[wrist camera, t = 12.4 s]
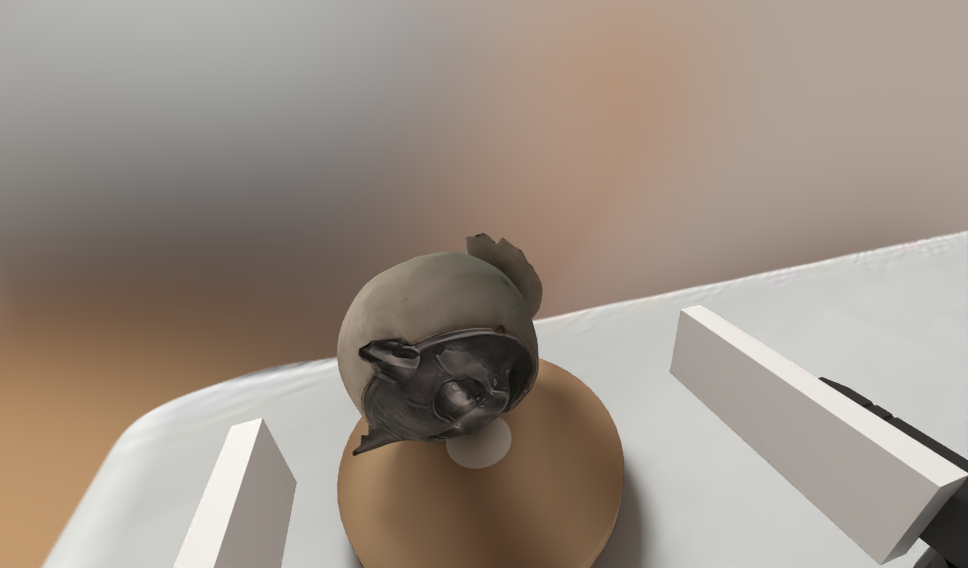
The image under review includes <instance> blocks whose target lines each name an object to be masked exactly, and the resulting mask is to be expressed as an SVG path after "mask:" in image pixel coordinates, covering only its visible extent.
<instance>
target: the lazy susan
mask: <svg viewBox="0 0 968 568" xmlns="http://www.w3.org/2000/svg"><path fill="white" fill-rule="evenodd" d="M368 427H369V426H368V424H367V422H366V421H365V419H364V418H363V416H362V417H361V419H360V420H359V421H358V423H357V425H356V426H355V428H354V430H353V432H352V433H351V435H350V437H349V440H348V442H347V445H346V447H345V449H344V452H343V456H342V459H341V463H340V467H339V475H338V482H337V492H338V505H339V511H340V516H341V520H342V523H343V526H344V529H345V531H346V534H347V537H348V539H349V541H350V543H351V545H352V547H353V549H354V551H355V553H356V555H357V556H358V558H359V560H360V562H361V563H362V565H363V567H364V568H590V567H591V566H592V565H593V564H594V562H595V561H596V559H597V558H598V556H599V555H600V553H601V552H602V551H603V549H604V548H605V546H606V543H607V541H608V539H609V537H610V535H611V533H612V531H613V529H614V526H615V523H616V519H617V516H618V513H619V509H620V502H621V495H622V487H623V480H624V457H623V451H622V446H621V441H620V438H619V435H618V432H617V429H616V426H615V424H614V422H613V420H612V418H611V416H610V414H609V412H608V411H607V409H606V408H605V406H604V405H603V403H602V402H601V400H600V399H599V398H598V397H597V396H596V395H595V393H594V392H593V391H592V390H591V389H590V388H589V387H588V386H586V385H585V384H584V383H583V382H582V381H581V380H580V379H578V378H577V377H575V376H574V375H572V374H571V373H569V372H568V371H566V370H564V369H562V368H561V367H559V366H557V365H555V364H552V363H550V362H548V361H545V360H543V359H539V370H538V374H537V378H536V380H535V383H534V385H533V387H532V389H531V390H530V392H529V393H528V394H527V395H526V396H525V397H524V399H523V400H522V401H521V402H520V403H519V404H518V405H517V406H516V407H515V408H514V409H512V410H511V411H510V412H508V413H502V414H500V415H499V416H498V417H497V418H496V419H494V420H492V421H491V422H490V423H489V424H488V425H486V426H485V427H484V428H483V429H482V430H481V431H479V432H478V433H477V434H472V435H461V436H458V437H454V438H452V439H449V440H444V441H440V442H423V441H411V440H406V441H399V442H395V443H391V444H387V445H385V446H382V447H379V448H376V449H374V450H371V451H367V452H364V453H361V454H358V455H356V456H353V455H352V452H353V451H354V450H355V449H356V448H357V447H359V446H360V445H361V435H368Z"/></svg>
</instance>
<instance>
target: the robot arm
mask: <svg viewBox="0 0 968 568" xmlns="http://www.w3.org/2000/svg"><path fill="white" fill-rule="evenodd" d="M670 373H671V374H672V375H673V376H674V377H675V378H676V379H678V380H679V381H680V382H681V383H682V384H683V385H684V386H685V387H686V388H687V389H688V390H689V391H691V392H692V393H693V394H694V395H695V396H696V397H697V398H698V399H699V400H700V401H701V402H703V403H704V404H705V405H706V406H707V407H708V408H709V409H710V410H711V411H712V412H713V413H715V414H716V415H717V416H718V417H719V418H720V419H721V420H722V421H723V422H724V423H725V424H727V425H728V426H729V427H730V428H731V429H732V430H733V431H734V432H735V433H736V434H737V435H739V436H740V437H741V438H742V439H743V440H744V441H745V442H746V443H747V444H748V445H749V446H750V447H752V448H753V449H754V450H755V451H756V452H757V453H758V454H759V455H760V456H761V457H762V458H764V459H765V460H766V461H767V462H768V463H769V464H770V465H771V466H772V467H773V468H774V469H776V470H777V471H778V472H779V473H780V474H781V475H782V476H783V477H784V478H785V479H786V480H788V481H789V482H790V483H791V484H792V485H793V486H794V487H795V488H796V489H797V490H798V491H799V492H801V493H802V494H803V495H804V496H805V497H806V498H807V499H808V500H809V501H810V502H811V503H813V504H814V505H815V506H816V507H817V508H818V509H819V510H820V511H821V512H822V513H823V514H825V515H826V516H827V517H828V518H829V519H830V520H831V521H832V522H833V523H834V524H835V525H837V526H838V527H839V528H840V529H841V530H842V531H843V532H844V533H845V534H846V535H847V536H849V537H850V538H851V539H852V540H853V541H854V542H855V543H856V544H857V545H858V546H859V547H860V548H862V549H863V550H864V551H865V552H866V553H867V554H868V555H869V556H870V557H871V558H872V559H874V560H875V561H876V562H877V563H878V564H879V565H882V564H884V563H887V562H889V561H891V560H893V559H895V558H897V557H899V556H902V555H904V554H906V553H907V552H908V550H909V549H910V548H911V547H912V545H913V544H914V543H915V542H916V540H917V539H918V538H921V539H922V540H923V541H924V542H926V543H927V544H928V545H929V546H930V547H929V548H928V549H927V550H926V552H925V553H924V554H923V555H922V556H921V557H920V559H919V560H918V561H917V562H916V563H915V565H914V567H913V568H968V460H967V459H965V458H963V457H962V456H960V455H958V454H957V453H955V452H953V451H952V450H950V449H949V448H947V447H945V446H944V445H942V444H940V443H939V442H937V441H935V440H934V439H932V438H930V437H929V436H927V435H926V434H924V433H922V432H921V431H919V430H917V429H916V428H914V427H912V426H911V425H909V424H907V423H906V422H904V421H903V420H901V419H899V418H898V417H897V418H894V417H893V416H892V414H891V413H889V412H888V411H886V410H884V409H883V408H881V407H880V406H878V405H876V406H875V405H873V403H872V402H871V401H870V400H868V399H866V398H865V397H863V396H861V395H860V394H858V393H857V392H855V391H853V390H852V389H850V388H848V387H846V386H843V385H841V384H838V383H836V382H833V381H831V380H828V379H826V378H823V377H821V378H816V377H814V376H813V375H811V374H810V373H808V372H806V371H805V370H803V369H802V368H800V367H799V366H797V365H795V364H794V363H792V362H791V361H789V360H787V359H786V358H784V357H783V356H781V355H779V354H778V353H776V352H775V351H773V350H772V349H770V348H768V347H767V346H765V345H764V344H762V343H760V342H759V341H757V340H756V339H754V338H752V337H751V336H749V335H748V334H746V333H745V332H743V331H741V330H740V329H738V328H737V327H735V326H733V325H732V324H730V323H729V322H727V321H725V320H724V319H722V318H721V317H719V316H718V315H716V314H714V313H713V312H711V311H710V310H708V309H706V308H705V307H703V306H702V305H697V306H693V307H689V308H685V309H681V312H680V317H679V323H678V329H677V334H676V340H675V346H674V351H673V357H672V363H671V368H670ZM296 483H297V482H296V480H295V478H294V476H293V475H292V473H291V471H290V469H289V467H288V465H287V463H286V461H285V459H284V458H283V456H282V454H281V452H280V450H279V448H278V446H277V444H276V442H275V441H274V439H273V437H272V435H271V433H270V431H269V429H268V427H267V425H266V424H265V422H264V420H263V418H260V419H256V420H253V421H249V422H245V423H241V424H237V425H233V426H231V429H230V431H229V433H228V436H227V438H226V441H225V443H224V446H223V448H222V450H221V453H220V455H219V458H218V460H217V463H216V465H215V467H214V470H213V472H212V475H211V477H210V480H209V482H208V484H207V487H206V489H205V492H204V494H203V496H202V499H201V501H200V504H199V506H198V509H197V511H196V513H195V516H194V518H193V521H192V523H191V526H190V528H189V530H188V533H187V535H186V538H185V540H184V543H183V545H182V547H181V550H180V552H179V555H178V557H177V560H176V562H175V564H174V567H173V568H281V564H282V558H283V553H284V548H285V542H286V537H287V531H288V526H289V521H290V515H291V510H292V504H293V499H294V493H295V488H296Z"/></svg>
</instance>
